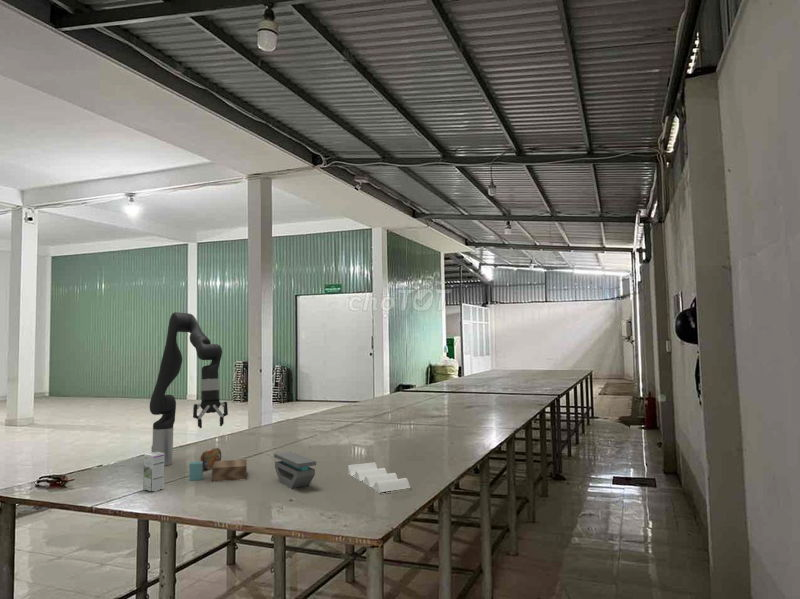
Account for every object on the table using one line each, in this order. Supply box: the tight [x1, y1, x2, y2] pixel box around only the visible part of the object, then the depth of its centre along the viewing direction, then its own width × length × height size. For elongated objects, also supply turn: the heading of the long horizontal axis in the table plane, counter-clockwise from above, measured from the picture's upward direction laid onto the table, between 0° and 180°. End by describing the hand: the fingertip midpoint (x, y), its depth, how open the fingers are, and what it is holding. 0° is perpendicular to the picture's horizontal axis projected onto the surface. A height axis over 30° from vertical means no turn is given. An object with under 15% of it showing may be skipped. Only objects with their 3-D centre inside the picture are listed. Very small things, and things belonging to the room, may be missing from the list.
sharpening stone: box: [273, 451, 317, 489], centre depth 232 cm, size 25×8×11 cm, turn 34°
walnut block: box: [211, 459, 248, 482], centre depth 245 cm, size 14×14×6 cm
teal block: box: [188, 460, 204, 482], centre depth 241 cm, size 5×5×7 cm
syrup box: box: [143, 452, 165, 492], centre depth 224 cm, size 6×6×14 cm
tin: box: [200, 447, 222, 470], centre depth 264 cm, size 15×3×8 cm, turn 168°
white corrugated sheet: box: [347, 461, 411, 494], centre depth 233 cm, size 13×35×5 cm, turn 27°
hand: (210, 427), depth 243 cm, fingers open, 8 cm apart
